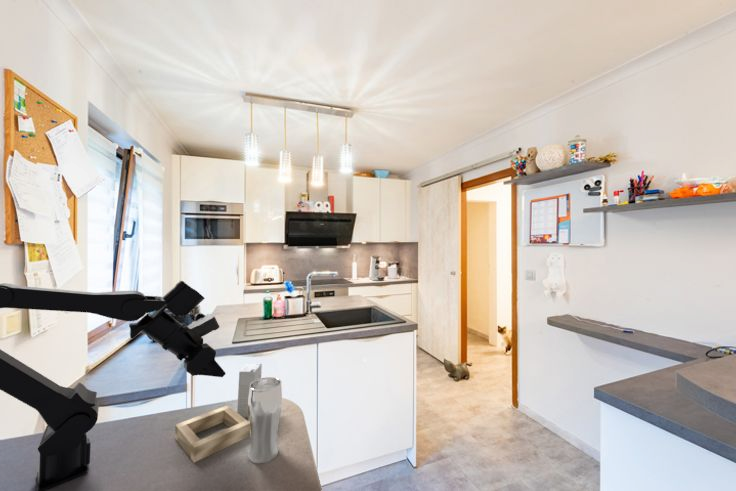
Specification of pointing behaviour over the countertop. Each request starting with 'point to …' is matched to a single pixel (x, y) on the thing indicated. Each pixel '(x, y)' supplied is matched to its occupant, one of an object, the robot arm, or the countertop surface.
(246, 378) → the skincare box
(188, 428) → the frame
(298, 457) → the countertop surface
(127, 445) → the countertop surface
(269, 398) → the beer glass
